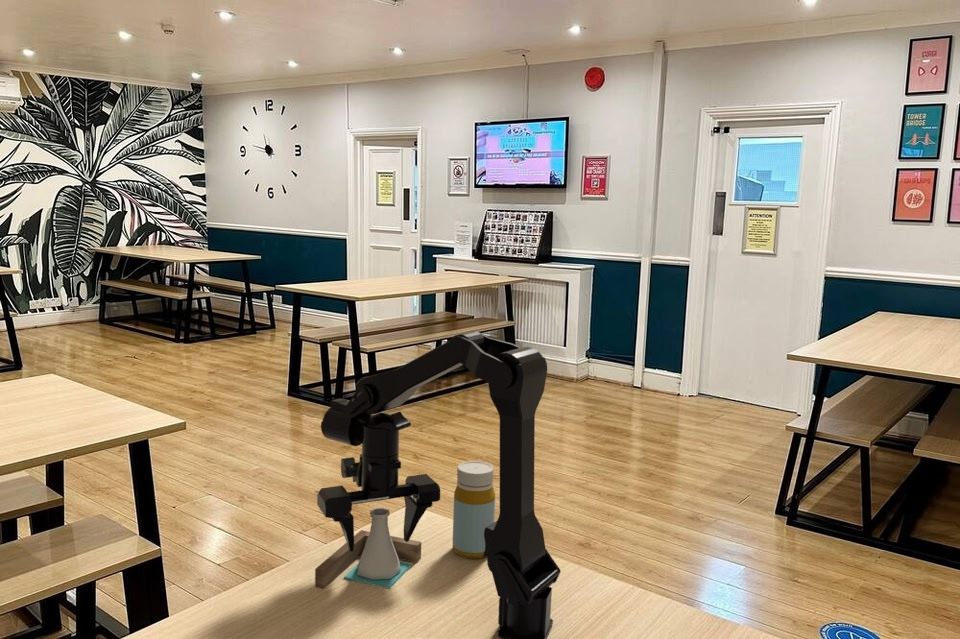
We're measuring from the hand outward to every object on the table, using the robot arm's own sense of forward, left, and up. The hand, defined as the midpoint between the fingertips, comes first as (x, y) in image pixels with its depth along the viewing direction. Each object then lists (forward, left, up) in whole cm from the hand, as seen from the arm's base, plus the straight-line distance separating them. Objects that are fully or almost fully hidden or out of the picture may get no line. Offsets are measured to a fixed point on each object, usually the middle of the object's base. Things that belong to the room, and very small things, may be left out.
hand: (379, 545), depth 118 cm
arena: (+1, +1, -4) cm, 5 cm away
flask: (0, 0, -4) cm, 4 cm away
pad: (0, 0, -4) cm, 4 cm away
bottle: (-11, -13, -5) cm, 18 cm away
